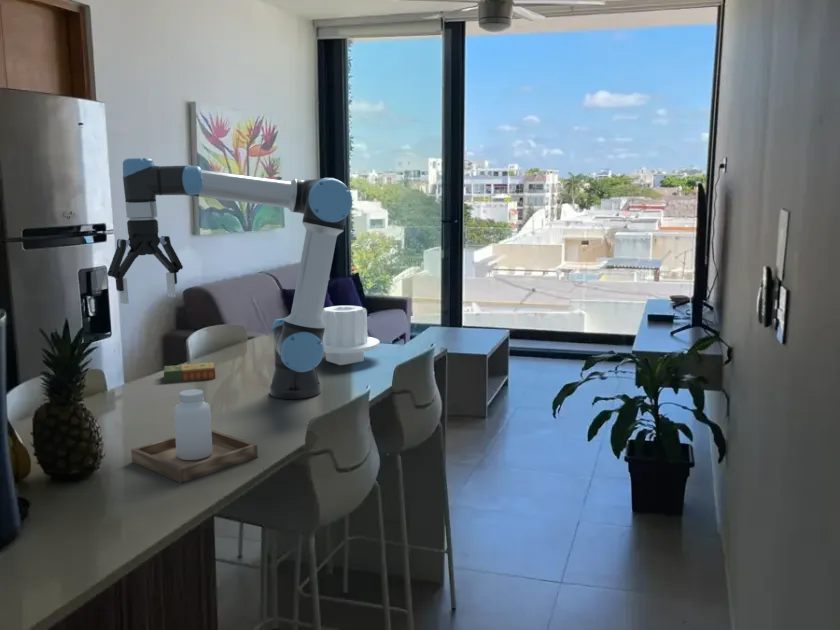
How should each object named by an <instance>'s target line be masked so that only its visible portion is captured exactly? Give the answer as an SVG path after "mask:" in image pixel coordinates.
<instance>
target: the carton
mask: <svg viewBox="0 0 840 630" xmlns="http://www.w3.org/2000/svg"><path fill="white" fill-rule="evenodd" d="M163 369H164V370H163V382H164V383H165V384H167V383H175V382H176V383H178V382H186V381H187V382H190V381H192V382H193V381H201V380H202V381H203V380H212V379H213V380H214V379H215V380H216V368H215V362H213V361H211V362H200V363H199V362H198V363H187V364H175V365H164V367H163Z"/></svg>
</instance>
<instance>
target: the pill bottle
mask: <svg viewBox="0 0 840 630" xmlns="http://www.w3.org/2000/svg"><path fill="white" fill-rule="evenodd" d="M204 397H205V396H204V391H203V390H201V389H196V388H192V389H184V390H182V391H180V392H179V393H178V399H179V402H180V403H178V404H176V405H175V407H174V411H173V416H174V434H175V435H174V437H175V439H176V454H177V457H178V458H179V459H182V460H199V459H204V458H206V457H208V456H210V455H211V454H212V433H211V429H212V417H211V415H212V414H211V406H210V404H209V403H208V402H207V401H204V400H205V398H204Z"/></svg>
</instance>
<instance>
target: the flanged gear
mask: <svg viewBox="0 0 840 630" xmlns="http://www.w3.org/2000/svg"><path fill="white" fill-rule="evenodd" d="M321 320H322V322H323V323H324V325H325V330H324V336H323V341H322V344H323V348H324V349H323V350H324V353H325V361H327V362H329V363H333V364H335V365H338V366H345V365H350V364H351V365H352V364H355V363H362V362H364V359H365V358H364V352H369V351H373V350H375V349H377V348H379V347H380V342H381V341H380V340H379V339H378V338H376V337H371V336H368V309H367V308H366V307H363V306H359V305H334V306H333V305H332V306H328V307H323V312H322V317H321ZM324 353H323V354H324Z"/></svg>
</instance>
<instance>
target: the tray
mask: <svg viewBox="0 0 840 630" xmlns="http://www.w3.org/2000/svg"><path fill="white" fill-rule="evenodd" d="M211 433H212V454H211V455H210V456H208V457H206V458H204V459H199V460H182V459H179V458H178V457H177V454H176V439H175V436H173V437H170V438H166V439H163V440H159V441H155V442H152V443H149V444H145V445H142V446H138V447H135V448H134V447H133V448H132V449H131V448H130V449H131V451H130V452H131V462H132V463H133V464H135V465H139V466H141V467H143V468H146V469H148V470H150V471H152V472H154V473H157V474H158V475H161V476H163V477H166V478H168V479H170V480H173V481H176V482H178V483H179V484H183V483H186V482H189V481H192V480H195V479H197V478H198V479H199V478H202V477H204V476H207V475H209V474H212V473H215V472H218V471H222V470H224V469H227V468H230V467H231V468H232V467H233V466H237V465H239V464H241V463H245V462H248V461H251V460H254V459H257V458H258V457H259V456H258V455H259V453H258V444H255V443H252V442H250V441H247V440H244V439H240V438H238V437H235V436H232V435H229V434H226V433H223V432H220V431H217V430H215V429H212V428H211Z"/></svg>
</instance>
